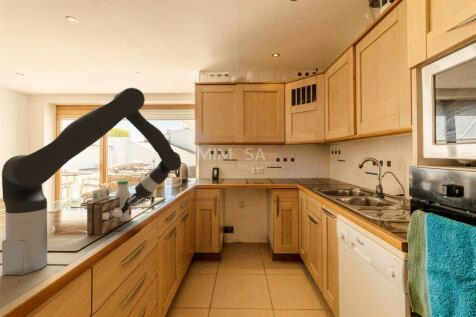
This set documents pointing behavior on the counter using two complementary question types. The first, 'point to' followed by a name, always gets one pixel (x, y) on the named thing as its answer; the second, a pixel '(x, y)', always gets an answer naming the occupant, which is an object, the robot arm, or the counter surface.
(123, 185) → the milk bottle
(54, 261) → the counter surface
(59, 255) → the counter surface
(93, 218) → the brown wooden box
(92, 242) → the counter surface
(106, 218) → the left button
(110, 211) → the middle button
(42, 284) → the counter surface
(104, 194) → the card
